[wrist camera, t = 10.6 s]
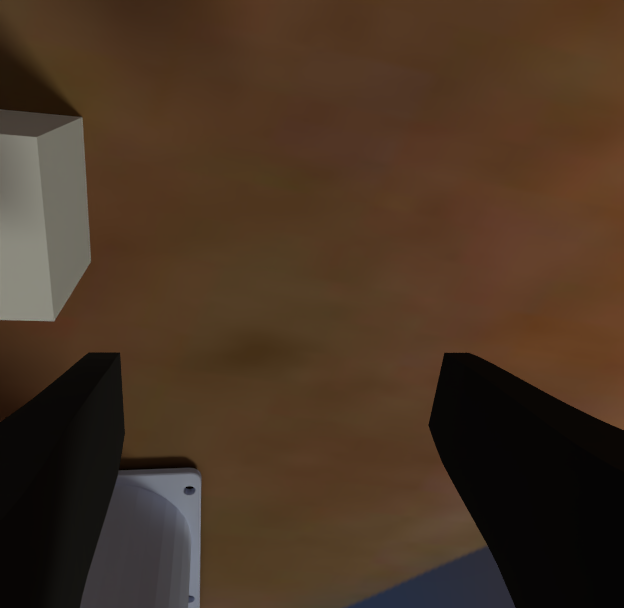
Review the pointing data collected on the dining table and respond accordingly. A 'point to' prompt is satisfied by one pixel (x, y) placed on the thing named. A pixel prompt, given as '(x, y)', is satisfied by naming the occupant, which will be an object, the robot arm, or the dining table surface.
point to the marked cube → (41, 213)
